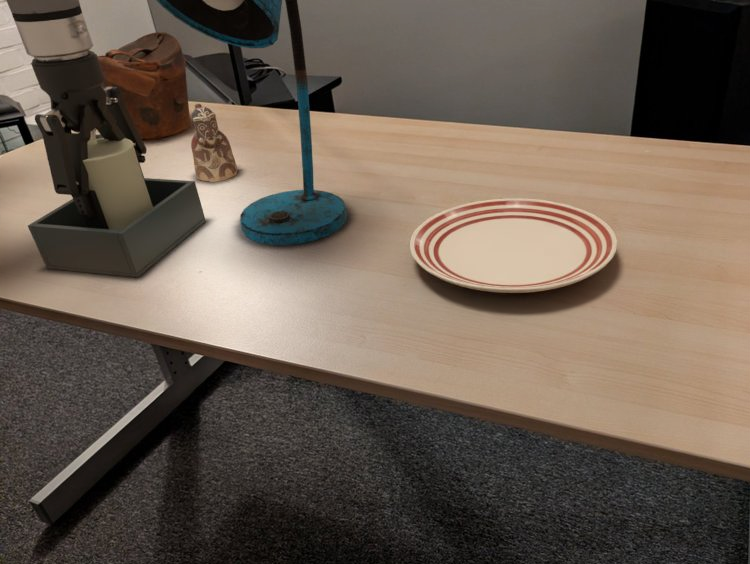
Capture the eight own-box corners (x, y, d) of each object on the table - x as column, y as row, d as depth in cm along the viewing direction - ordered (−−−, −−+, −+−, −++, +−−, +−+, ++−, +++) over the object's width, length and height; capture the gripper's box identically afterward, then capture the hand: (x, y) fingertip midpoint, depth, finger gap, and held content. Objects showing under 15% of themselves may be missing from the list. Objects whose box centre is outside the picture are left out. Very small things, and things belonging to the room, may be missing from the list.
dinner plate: (385, 236, 95) (383, 215, 93) (550, 201, 103) (552, 181, 101) (456, 335, 74) (456, 310, 72) (657, 282, 82) (661, 259, 80)
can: (163, 209, 99) (138, 131, 92) (151, 236, 91) (123, 153, 84) (100, 216, 98) (70, 136, 91) (82, 244, 90) (48, 160, 83)
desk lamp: (196, 250, 94) (82, -136, 67) (285, 192, 110) (220, -138, 83) (290, 269, 88) (205, -143, 62) (368, 204, 104) (327, -144, 78)
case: (103, 150, 130) (70, 55, 120) (123, 120, 146) (95, 34, 136) (196, 141, 133) (171, 47, 122) (205, 113, 149) (184, 27, 138)
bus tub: (46, 268, 91) (27, 225, 87) (124, 214, 105) (110, 175, 101) (138, 277, 88) (122, 233, 84) (206, 221, 102) (194, 180, 98)
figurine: (198, 184, 114) (179, 115, 107) (195, 171, 119) (177, 104, 112) (239, 177, 116) (223, 109, 109) (235, 164, 121) (219, 98, 114)
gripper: (23, 77, 72) (96, 258, 85) (141, 36, 89) (186, 192, 102) (-33, 75, 73) (47, 253, 86) (93, 35, 90) (144, 189, 103)
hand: (122, 220), depth 94 cm, fingers closed on can, 9 cm apart
